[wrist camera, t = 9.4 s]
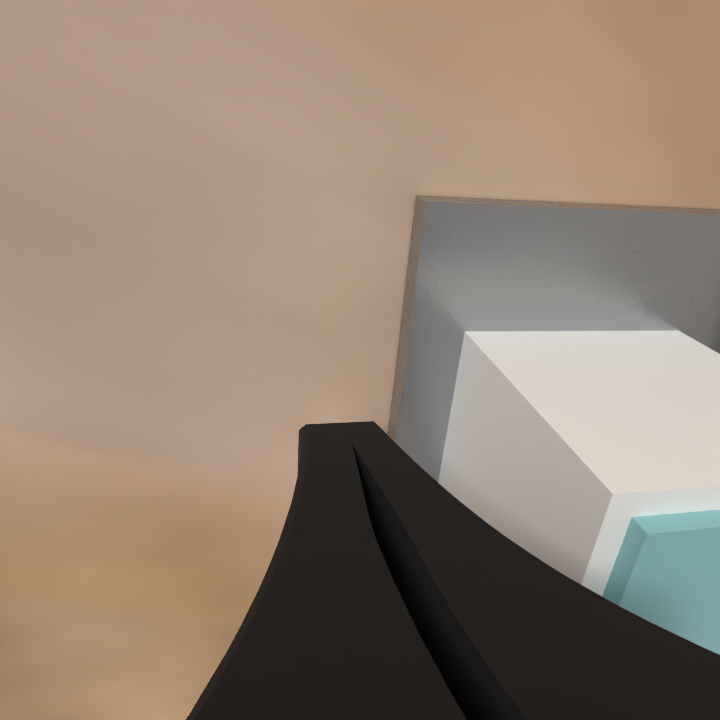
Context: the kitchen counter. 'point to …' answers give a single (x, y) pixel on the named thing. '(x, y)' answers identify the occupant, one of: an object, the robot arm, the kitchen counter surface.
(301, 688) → the robot arm
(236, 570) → the kitchen counter surface
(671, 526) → the block
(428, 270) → the plate
